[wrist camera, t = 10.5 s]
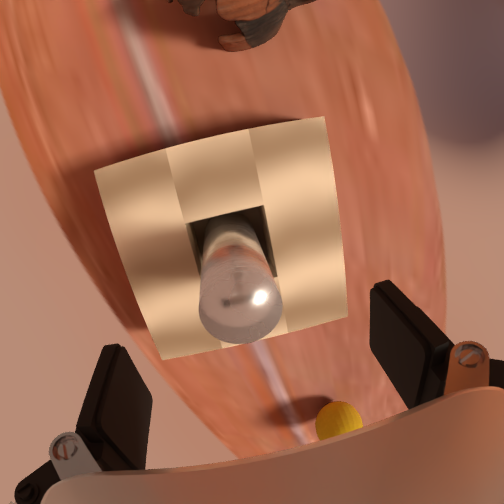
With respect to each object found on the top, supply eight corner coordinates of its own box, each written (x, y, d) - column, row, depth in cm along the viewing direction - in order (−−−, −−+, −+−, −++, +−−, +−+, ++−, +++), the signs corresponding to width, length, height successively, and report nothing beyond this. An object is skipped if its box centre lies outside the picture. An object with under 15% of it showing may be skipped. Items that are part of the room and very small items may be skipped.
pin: (199, 216, 25) (188, 282, 14) (248, 205, 26) (275, 262, 14) (211, 261, 27) (211, 351, 16) (257, 251, 27) (288, 333, 16)
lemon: (339, 382, 35) (362, 430, 28) (355, 402, 37) (378, 446, 30) (300, 405, 36) (317, 455, 29) (320, 422, 38) (337, 468, 31)
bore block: (114, 163, 24) (93, 170, 19) (303, 119, 25) (324, 116, 20) (167, 327, 30) (162, 359, 25) (328, 289, 30) (347, 316, 26)
